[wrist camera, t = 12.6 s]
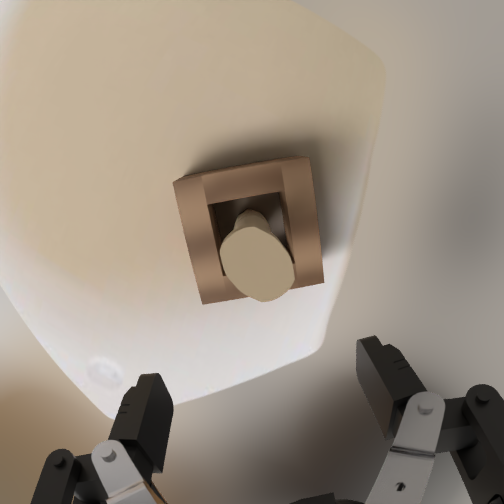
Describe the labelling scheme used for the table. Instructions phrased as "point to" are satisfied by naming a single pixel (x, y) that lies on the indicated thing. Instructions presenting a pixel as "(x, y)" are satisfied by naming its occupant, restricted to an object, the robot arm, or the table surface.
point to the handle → (256, 258)
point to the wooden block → (240, 186)
